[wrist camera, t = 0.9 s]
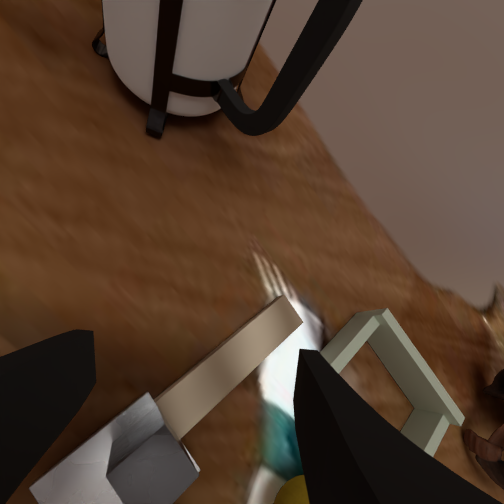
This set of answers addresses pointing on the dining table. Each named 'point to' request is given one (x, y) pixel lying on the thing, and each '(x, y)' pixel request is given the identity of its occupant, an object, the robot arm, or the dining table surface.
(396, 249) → the dining table surface
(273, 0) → the coffee press
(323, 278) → the dining table surface
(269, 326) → the rail
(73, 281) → the dining table surface
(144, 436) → the slider
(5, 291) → the dining table surface
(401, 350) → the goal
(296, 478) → the lemon
